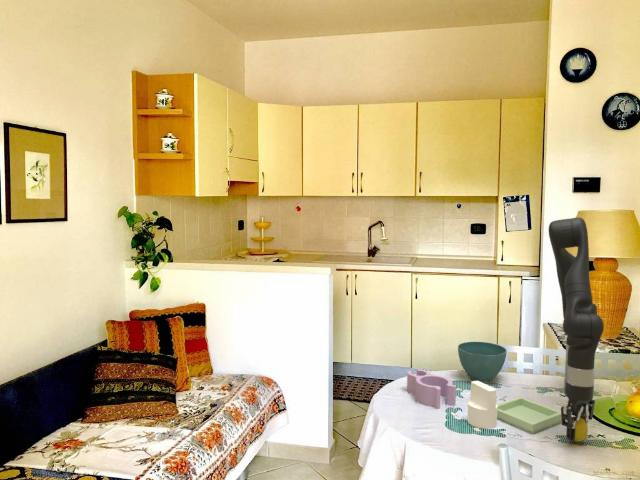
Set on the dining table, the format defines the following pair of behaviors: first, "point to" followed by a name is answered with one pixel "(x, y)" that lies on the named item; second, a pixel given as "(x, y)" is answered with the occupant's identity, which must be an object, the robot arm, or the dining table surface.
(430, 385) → the clip
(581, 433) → the lemon
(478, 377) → the teal bowl
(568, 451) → the dining table surface
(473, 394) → the base with upright slab
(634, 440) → the dining table surface
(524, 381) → the dining table surface
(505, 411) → the tray
